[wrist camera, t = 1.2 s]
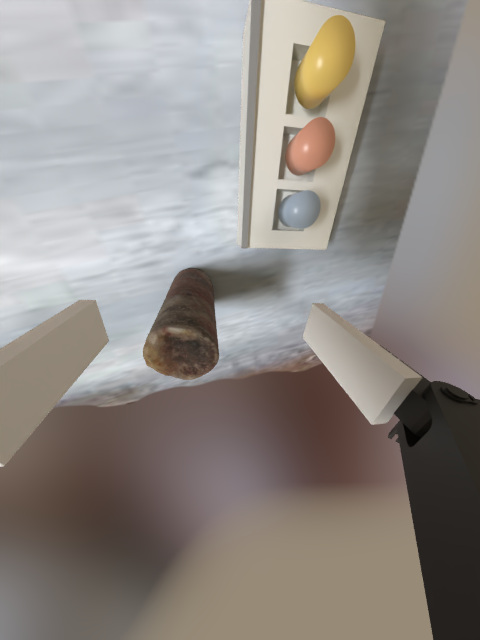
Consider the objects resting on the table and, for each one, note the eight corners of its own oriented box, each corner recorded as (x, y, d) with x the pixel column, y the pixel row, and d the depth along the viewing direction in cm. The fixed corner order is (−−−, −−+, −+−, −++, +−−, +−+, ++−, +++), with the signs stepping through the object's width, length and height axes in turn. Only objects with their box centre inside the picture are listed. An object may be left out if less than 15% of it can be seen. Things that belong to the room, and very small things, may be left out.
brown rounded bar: (221, 292, 35) (233, 363, 18) (191, 312, 36) (176, 396, 19) (196, 259, 32) (181, 308, 14) (164, 282, 33) (115, 353, 16)
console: (242, 36, 21) (253, -19, 16) (352, 58, 23) (390, 15, 18) (236, 243, 31) (241, 248, 26) (311, 245, 33) (328, 250, 29)
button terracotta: (288, 131, 21) (303, 114, 18) (319, 135, 22) (340, 119, 18) (282, 174, 23) (295, 166, 20) (311, 176, 24) (329, 169, 20)
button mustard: (298, 49, 18) (319, 10, 15) (334, 56, 19) (362, 20, 15) (291, 106, 20) (308, 83, 17) (323, 111, 21) (346, 90, 17)
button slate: (280, 193, 24) (292, 188, 21) (308, 195, 25) (324, 191, 21) (276, 226, 26) (286, 227, 23) (302, 227, 27) (316, 229, 23)
